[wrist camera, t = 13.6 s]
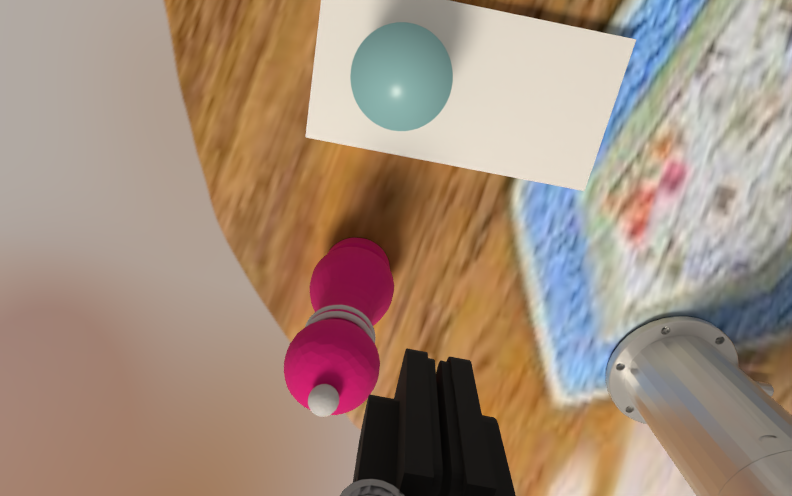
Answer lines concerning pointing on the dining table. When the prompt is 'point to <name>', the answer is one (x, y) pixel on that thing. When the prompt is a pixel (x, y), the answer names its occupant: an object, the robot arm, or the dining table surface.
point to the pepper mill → (341, 329)
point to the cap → (401, 76)
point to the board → (480, 89)
